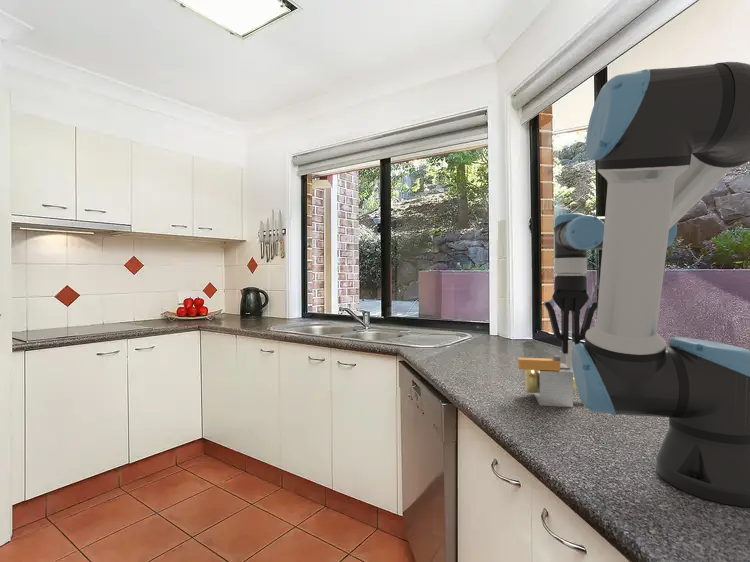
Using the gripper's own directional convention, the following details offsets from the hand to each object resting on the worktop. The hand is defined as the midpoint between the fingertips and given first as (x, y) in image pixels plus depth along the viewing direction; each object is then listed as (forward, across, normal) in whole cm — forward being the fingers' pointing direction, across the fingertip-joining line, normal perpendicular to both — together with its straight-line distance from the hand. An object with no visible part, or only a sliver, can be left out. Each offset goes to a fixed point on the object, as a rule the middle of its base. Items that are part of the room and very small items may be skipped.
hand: (570, 366), depth 106 cm
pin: (+8, +2, -4) cm, 9 cm away
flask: (+10, -4, -22) cm, 24 cm away
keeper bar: (+1, +8, 0) cm, 8 cm away
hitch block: (+10, +4, -4) cm, 11 cm away
